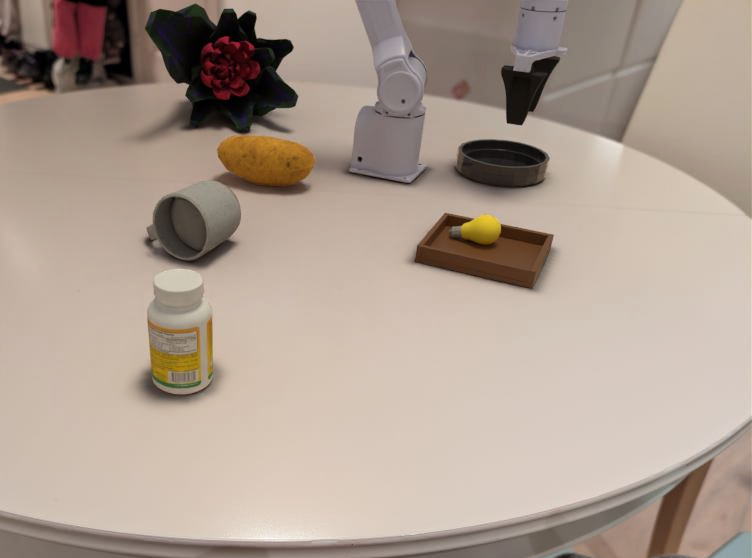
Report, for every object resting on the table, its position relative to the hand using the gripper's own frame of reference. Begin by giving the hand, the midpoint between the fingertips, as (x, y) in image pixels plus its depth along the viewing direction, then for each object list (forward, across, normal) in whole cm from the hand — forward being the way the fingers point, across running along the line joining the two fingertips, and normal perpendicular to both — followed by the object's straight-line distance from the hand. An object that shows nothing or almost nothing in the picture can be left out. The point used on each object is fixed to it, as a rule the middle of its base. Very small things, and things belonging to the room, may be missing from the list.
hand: (520, 117), depth 102 cm
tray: (+9, -26, -3) cm, 28 cm away
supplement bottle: (+10, -64, +14) cm, 66 cm away
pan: (+9, +4, +2) cm, 10 cm away
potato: (+10, -18, +30) cm, 36 cm away
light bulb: (+9, -24, -1) cm, 26 cm away
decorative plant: (+10, +5, +49) cm, 50 cm away
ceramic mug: (+10, -41, +28) cm, 51 cm away
